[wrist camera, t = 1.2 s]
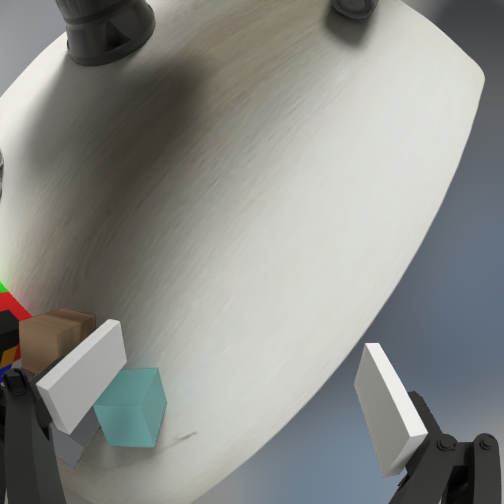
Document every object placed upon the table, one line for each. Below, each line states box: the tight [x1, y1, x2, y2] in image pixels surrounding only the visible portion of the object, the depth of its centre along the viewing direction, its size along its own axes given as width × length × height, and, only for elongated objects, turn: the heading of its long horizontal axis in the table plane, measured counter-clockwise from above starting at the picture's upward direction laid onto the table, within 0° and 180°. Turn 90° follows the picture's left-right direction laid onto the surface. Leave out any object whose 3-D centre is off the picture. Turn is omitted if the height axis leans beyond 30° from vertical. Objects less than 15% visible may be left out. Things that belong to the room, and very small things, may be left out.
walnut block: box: [19, 308, 96, 375], centre depth 24 cm, size 5×5×10 cm
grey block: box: [49, 401, 100, 468], centre depth 24 cm, size 5×5×10 cm
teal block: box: [93, 368, 167, 447], centre depth 25 cm, size 5×5×10 cm
